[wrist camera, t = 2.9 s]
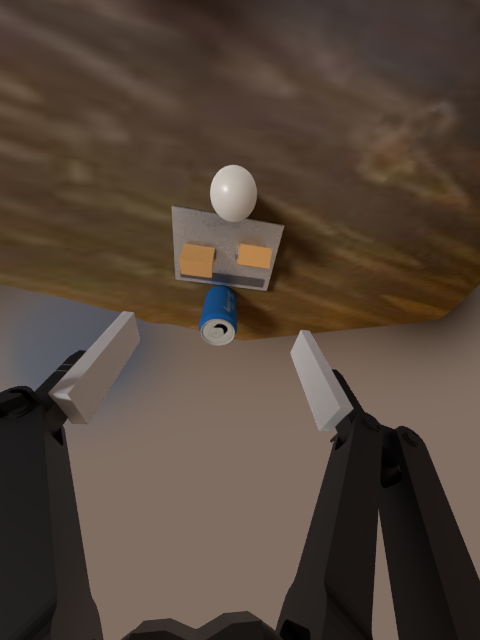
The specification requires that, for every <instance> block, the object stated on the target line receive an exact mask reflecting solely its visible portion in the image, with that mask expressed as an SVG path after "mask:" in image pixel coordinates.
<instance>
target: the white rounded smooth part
mask: <svg viewBox="0 0 480 640" xmlns="http://www.w3.org/2000/svg"><path fill="white" fill-rule="evenodd" d="M210 196H211V202H212V205H213V207H214V209H215V211H216V212H217V214H218V215H219V216H220V217H222V218H223V219H225V220H227V221H230V222H238V221H241V220H244V219H245V218H247V217H248V216H249V215H250V214H251V212H252V211H253V209H254V207H255V204H256V200H257V188H256V184H255V181H254V179H253V177H252V176H251V174H250V173H249V172H248V171H247V170H246V169H244V168H243V167H241V166H237V165H229V166H226V167H224V168H222V169H221V170H220V171H219V172H218V173H217V174H216V175H215V177H214V179H213V181H212V184H211V190H210Z"/></svg>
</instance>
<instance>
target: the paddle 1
mask: <svg viewBox="0 0 480 640" xmlns="http://www.w3.org/2000/svg"><path fill="white" fill-rule="evenodd" d="M214 259H216V252H215V248H211V247H204V246H198V245H191V244H185V243H184V245H183V248H182V251H181V254H180V257H179V262H180V269H181V274H185V275H193V276H201V277H208V278H212V272H213V266H214Z"/></svg>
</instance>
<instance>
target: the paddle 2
mask: <svg viewBox="0 0 480 640" xmlns="http://www.w3.org/2000/svg"><path fill="white" fill-rule="evenodd" d="M271 254H272V249H271V248H264V247H258V246H252V245H245V244H240V245H239V247H238V252H236V256H235V259H237V263H236V265H242V266H249V267H256V268H263V269H269V266H270V260H271Z"/></svg>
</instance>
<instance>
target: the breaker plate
mask: <svg viewBox="0 0 480 640" xmlns="http://www.w3.org/2000/svg"><path fill="white" fill-rule="evenodd" d="M172 221H173V239H174V258H175V276H176V279H177V280H185V281H193V282H201V283H209V284H216V285H224V286H232V287H240V288H248V289H256V290H264V291H267V288H268V284H269V280H270V277H271V273H272V269H273V266H274V262H275V258H276V255H277V251H278V247H279V243H280V240H281V236H282V232H283V229H284V225H282V224H279V223H273V222H267V221H262V220H256V219H251V218H245V219H244V220H241V221H238V222H230V221H227V220H225V219H223V218H222V217H220V216H219V215H218V214H217V212H211V211H205V210H200V209H194V208H189V207H183V206H177V205H173V206H172ZM184 243H185V244H191V245H198V246H204V247H211V248H215V252H216V259H214V266H213V272H212V278H208V277H201V276H193V275H185V274H181V269H180V262H179V257H180V254H181V251H182V248H183V245H184ZM240 244H245V245H252V246H258V247H264V248H271V249H272V254H271V260H270V266H269V269H263V268H256V267H249V266H242V265H236V263H237V259H235V256H236V252H238V247H239V245H240Z"/></svg>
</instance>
